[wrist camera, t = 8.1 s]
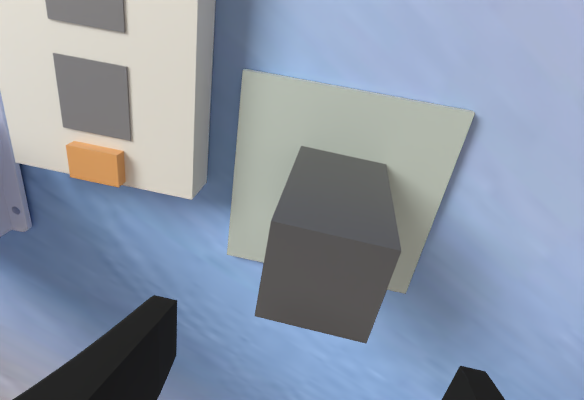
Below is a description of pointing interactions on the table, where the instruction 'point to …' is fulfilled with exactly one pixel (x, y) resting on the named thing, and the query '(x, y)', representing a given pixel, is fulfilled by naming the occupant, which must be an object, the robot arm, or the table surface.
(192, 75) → the power strip
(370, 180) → the charger
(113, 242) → the table surface
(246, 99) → the mat
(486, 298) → the table surface
